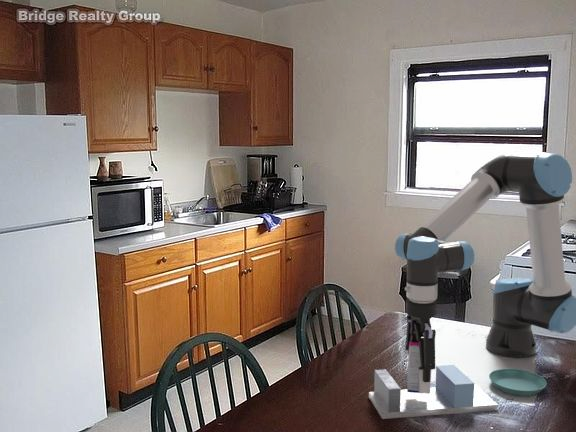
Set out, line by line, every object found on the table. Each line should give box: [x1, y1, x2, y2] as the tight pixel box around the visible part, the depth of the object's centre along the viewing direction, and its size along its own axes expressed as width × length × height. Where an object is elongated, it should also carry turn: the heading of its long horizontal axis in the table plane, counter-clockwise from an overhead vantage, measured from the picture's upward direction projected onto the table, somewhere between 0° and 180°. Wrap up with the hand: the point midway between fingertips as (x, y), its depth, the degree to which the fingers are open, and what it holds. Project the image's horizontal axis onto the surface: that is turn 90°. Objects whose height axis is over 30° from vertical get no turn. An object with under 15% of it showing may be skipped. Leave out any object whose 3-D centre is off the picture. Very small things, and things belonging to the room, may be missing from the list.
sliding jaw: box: [435, 364, 475, 408], centre depth 150 cm, size 5×12×6 cm, turn 8°
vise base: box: [368, 368, 499, 420], centre depth 150 cm, size 30×12×8 cm, turn 98°
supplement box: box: [406, 342, 430, 394], centre depth 148 cm, size 6×6×12 cm
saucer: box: [488, 368, 548, 397], centre depth 160 cm, size 15×15×3 cm
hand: (418, 386), depth 149 cm, fingers closed on supplement box, 7 cm apart
